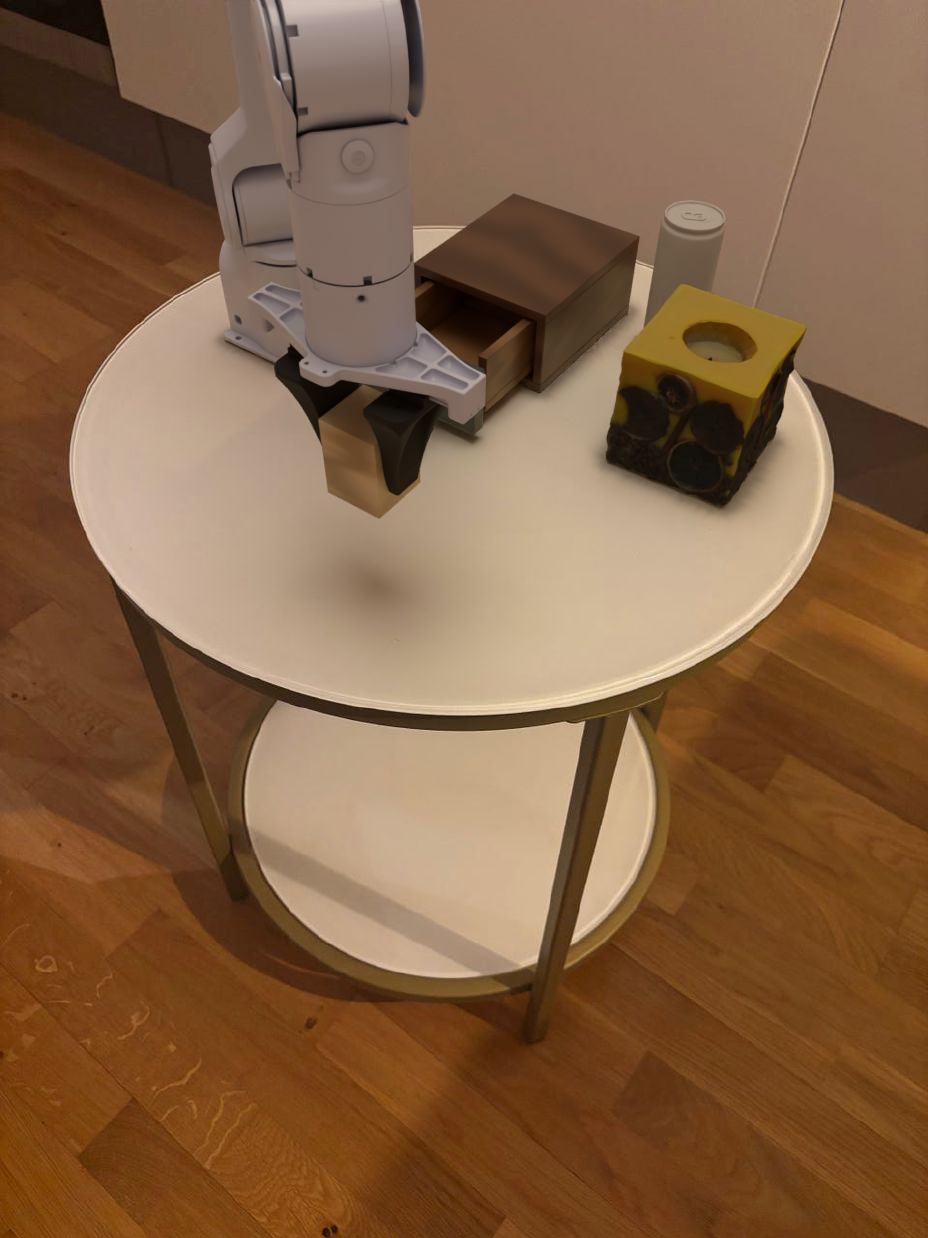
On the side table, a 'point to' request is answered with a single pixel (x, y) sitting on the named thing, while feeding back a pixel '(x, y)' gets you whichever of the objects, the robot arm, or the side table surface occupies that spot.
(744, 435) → the candle
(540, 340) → the cabinet
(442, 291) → the drawer
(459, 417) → the robot arm
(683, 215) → the beverage can
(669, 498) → the side table surface
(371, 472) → the block
